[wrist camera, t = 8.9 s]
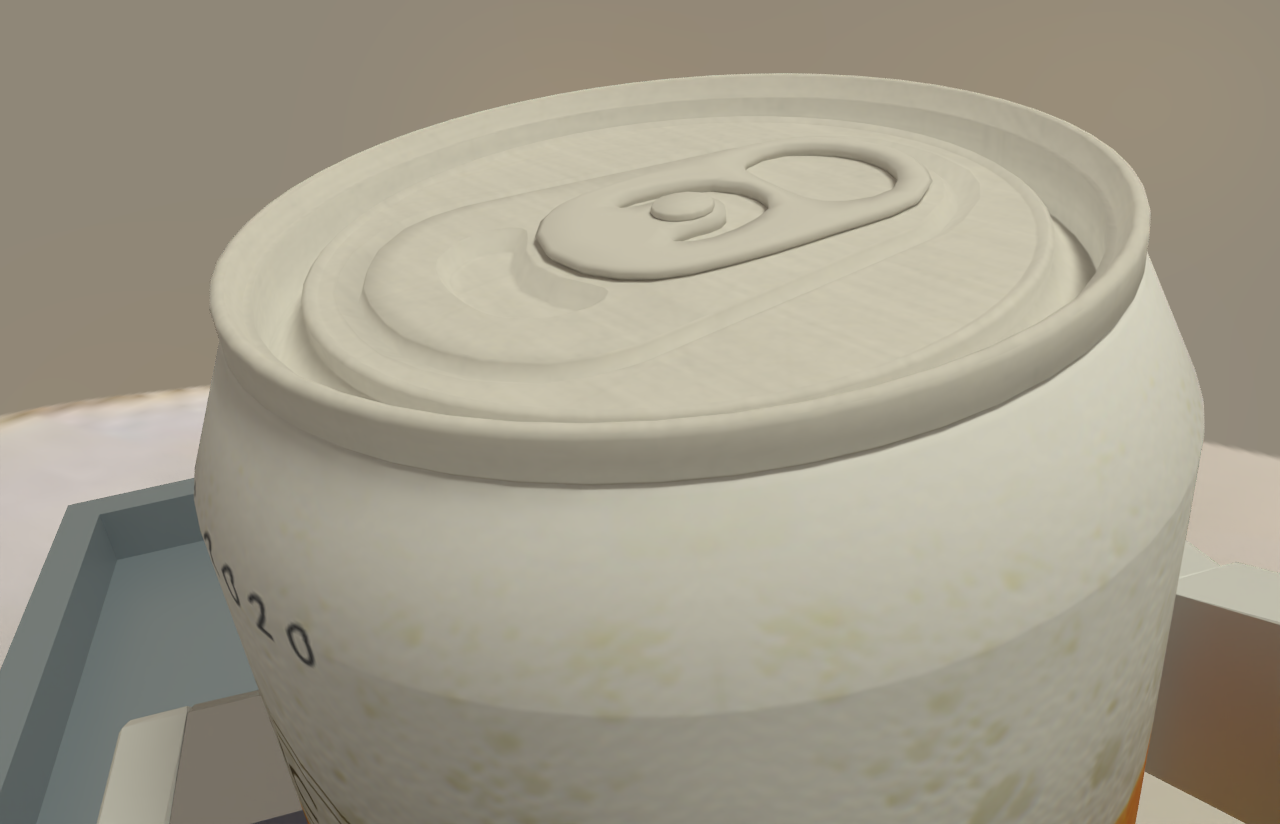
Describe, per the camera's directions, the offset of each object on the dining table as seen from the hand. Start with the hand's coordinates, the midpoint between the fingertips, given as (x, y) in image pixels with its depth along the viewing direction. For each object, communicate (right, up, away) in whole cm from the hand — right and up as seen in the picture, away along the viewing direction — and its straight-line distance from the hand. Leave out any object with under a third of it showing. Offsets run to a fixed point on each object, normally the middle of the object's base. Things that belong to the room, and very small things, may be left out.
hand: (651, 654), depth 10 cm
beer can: (+2, -10, +4) cm, 11 cm away
